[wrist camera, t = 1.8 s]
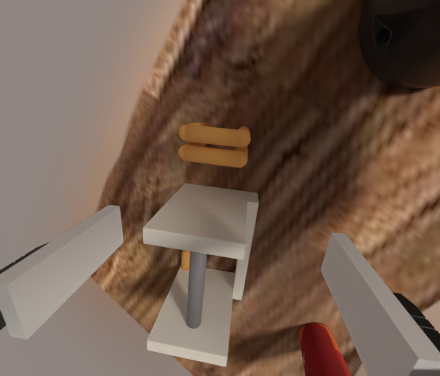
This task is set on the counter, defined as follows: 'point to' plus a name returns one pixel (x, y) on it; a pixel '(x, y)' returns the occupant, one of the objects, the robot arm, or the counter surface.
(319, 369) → the coffee cup
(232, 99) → the counter surface
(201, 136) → the cord hank
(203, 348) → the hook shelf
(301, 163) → the counter surface
